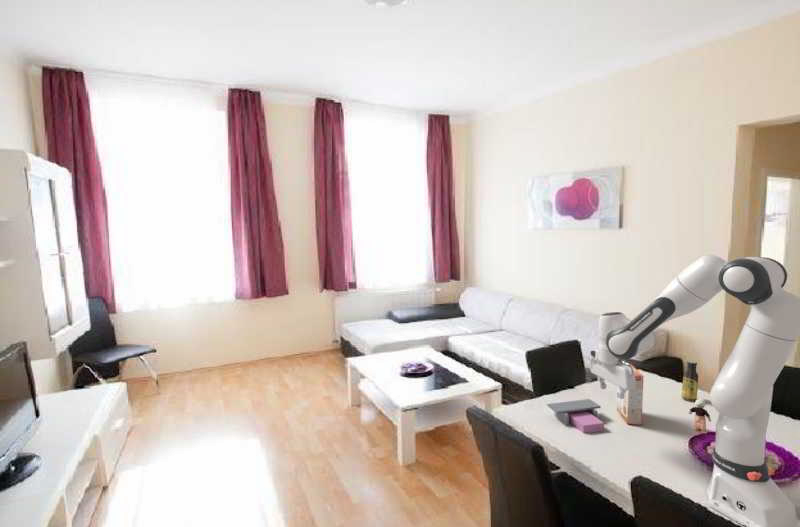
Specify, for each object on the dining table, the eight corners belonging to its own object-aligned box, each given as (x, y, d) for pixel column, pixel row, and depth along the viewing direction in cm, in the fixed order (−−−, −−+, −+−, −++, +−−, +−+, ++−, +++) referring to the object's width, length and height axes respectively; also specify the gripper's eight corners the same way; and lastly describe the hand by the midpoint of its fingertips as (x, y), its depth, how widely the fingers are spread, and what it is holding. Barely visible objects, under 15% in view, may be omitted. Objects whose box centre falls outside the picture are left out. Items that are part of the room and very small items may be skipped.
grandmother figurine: (712, 432, 161) (713, 400, 160) (709, 435, 159) (711, 403, 157) (689, 425, 167) (690, 394, 166) (686, 428, 164) (687, 397, 163)
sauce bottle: (679, 398, 191) (680, 360, 190) (686, 396, 194) (687, 358, 192) (692, 403, 186) (694, 364, 184) (700, 400, 188) (701, 362, 187)
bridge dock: (603, 420, 173) (603, 408, 172) (559, 426, 169) (559, 413, 169) (589, 410, 182) (589, 398, 182) (547, 415, 178) (547, 404, 178)
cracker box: (643, 425, 168) (644, 375, 166) (626, 424, 169) (627, 374, 167) (631, 410, 181) (632, 363, 179) (616, 409, 182) (617, 363, 180)
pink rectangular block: (603, 431, 165) (603, 422, 165) (583, 434, 163) (583, 425, 163) (580, 414, 180) (580, 406, 179) (561, 417, 178) (561, 409, 178)
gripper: (640, 364, 142) (640, 403, 143) (600, 347, 162) (601, 382, 163) (624, 365, 140) (624, 405, 141) (586, 349, 160) (586, 384, 162)
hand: (611, 393), depth 152 cm, fingers open, 8 cm apart
